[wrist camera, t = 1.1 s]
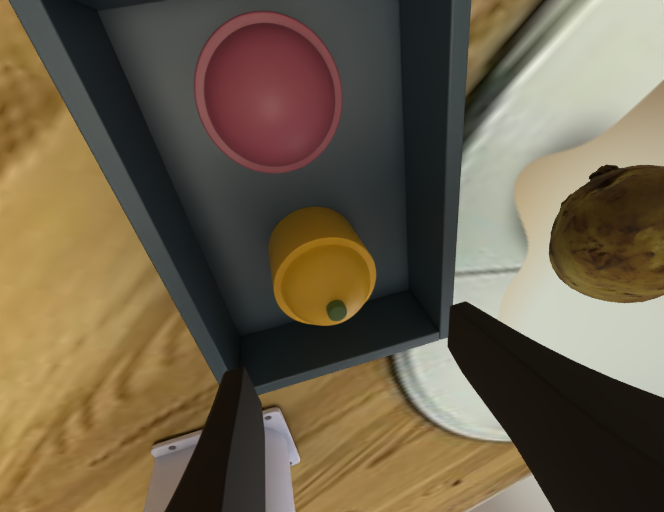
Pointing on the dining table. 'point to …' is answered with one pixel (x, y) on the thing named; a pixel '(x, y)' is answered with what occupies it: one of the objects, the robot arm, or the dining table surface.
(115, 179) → the tote
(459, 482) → the dining table surface
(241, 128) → the dark red hollow cup
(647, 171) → the potato
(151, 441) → the dining table surface
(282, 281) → the orange rounded piece
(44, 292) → the dining table surface
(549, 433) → the robot arm
